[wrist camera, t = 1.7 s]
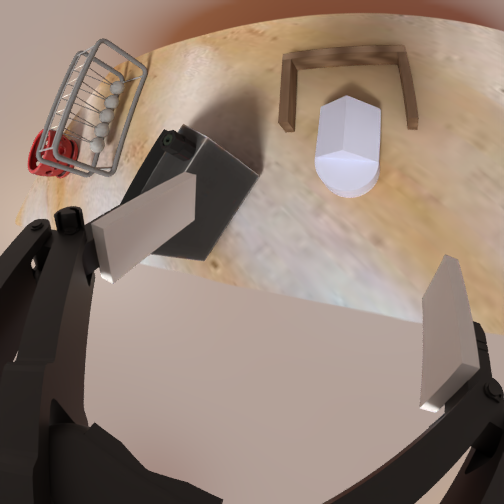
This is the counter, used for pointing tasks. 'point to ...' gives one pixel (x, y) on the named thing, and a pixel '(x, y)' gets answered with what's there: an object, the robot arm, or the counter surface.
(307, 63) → the walnut bay
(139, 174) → the voltmeter
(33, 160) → the plant pot
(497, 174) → the counter surface
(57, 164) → the newton's cradle
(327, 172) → the wedge on round base
